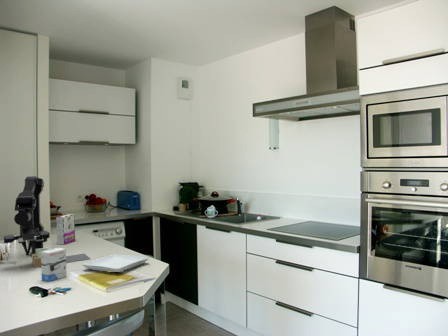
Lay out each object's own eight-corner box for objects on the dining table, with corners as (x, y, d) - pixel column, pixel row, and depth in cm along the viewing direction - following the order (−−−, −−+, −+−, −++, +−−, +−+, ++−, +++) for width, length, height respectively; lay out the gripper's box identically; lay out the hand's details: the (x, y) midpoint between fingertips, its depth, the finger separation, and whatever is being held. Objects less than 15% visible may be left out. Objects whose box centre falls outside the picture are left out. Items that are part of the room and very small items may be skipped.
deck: (32, 262, 184) (31, 254, 184) (60, 258, 191) (60, 250, 191) (35, 267, 174) (34, 259, 174) (65, 263, 181) (65, 254, 181)
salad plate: (114, 259, 186) (114, 252, 186) (149, 264, 177) (149, 256, 177) (80, 271, 167) (80, 263, 167) (118, 276, 158) (118, 268, 158)
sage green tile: (35, 254, 183) (35, 249, 183) (49, 252, 187) (49, 247, 187) (38, 257, 176) (37, 252, 176) (52, 255, 179) (52, 250, 179)
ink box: (48, 282, 152) (47, 252, 152) (41, 280, 155) (40, 251, 154) (67, 276, 159) (66, 248, 159) (60, 274, 162) (59, 247, 162)
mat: (59, 257, 191) (59, 257, 191) (84, 254, 198) (84, 253, 198) (64, 263, 181) (64, 262, 181) (90, 259, 187) (90, 258, 187)
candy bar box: (68, 240, 234) (67, 214, 234) (75, 240, 233) (74, 214, 233) (56, 244, 223) (55, 216, 223) (64, 245, 222) (63, 216, 222)
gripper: (4, 226, 165) (5, 262, 166) (50, 221, 175) (52, 255, 176) (2, 223, 175) (4, 257, 175) (47, 219, 185) (48, 251, 185)
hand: (27, 255), depth 177 cm, fingers closed
